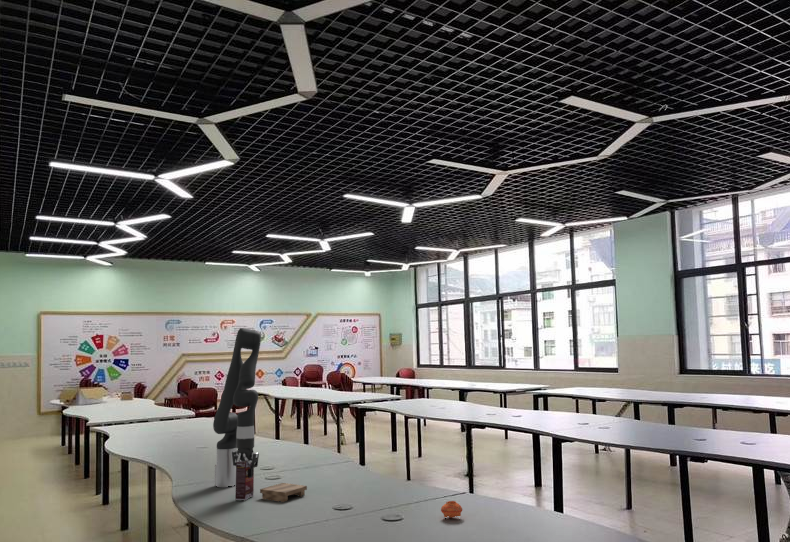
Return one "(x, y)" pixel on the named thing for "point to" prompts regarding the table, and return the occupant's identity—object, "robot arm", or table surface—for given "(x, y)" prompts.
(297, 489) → the tan board
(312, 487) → the table surface
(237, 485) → the supplement box
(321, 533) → the table surface
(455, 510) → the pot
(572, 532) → the table surface
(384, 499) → the table surface
